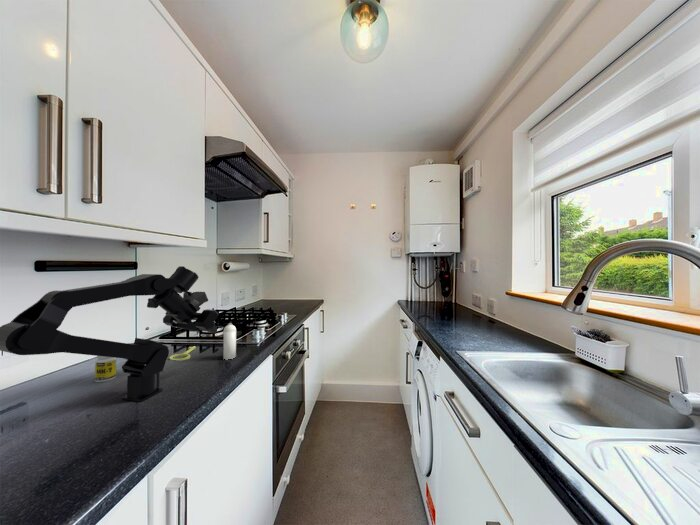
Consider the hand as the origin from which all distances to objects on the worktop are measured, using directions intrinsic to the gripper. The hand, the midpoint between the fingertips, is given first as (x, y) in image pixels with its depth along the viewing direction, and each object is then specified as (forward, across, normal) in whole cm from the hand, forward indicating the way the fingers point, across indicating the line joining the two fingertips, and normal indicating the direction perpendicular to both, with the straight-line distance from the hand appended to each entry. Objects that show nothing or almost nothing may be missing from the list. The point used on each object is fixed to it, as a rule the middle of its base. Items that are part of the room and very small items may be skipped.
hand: (206, 330), depth 89 cm
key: (+14, +19, +5) cm, 24 cm away
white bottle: (+16, 0, +2) cm, 17 cm away
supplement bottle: (-3, +22, +21) cm, 31 cm away
